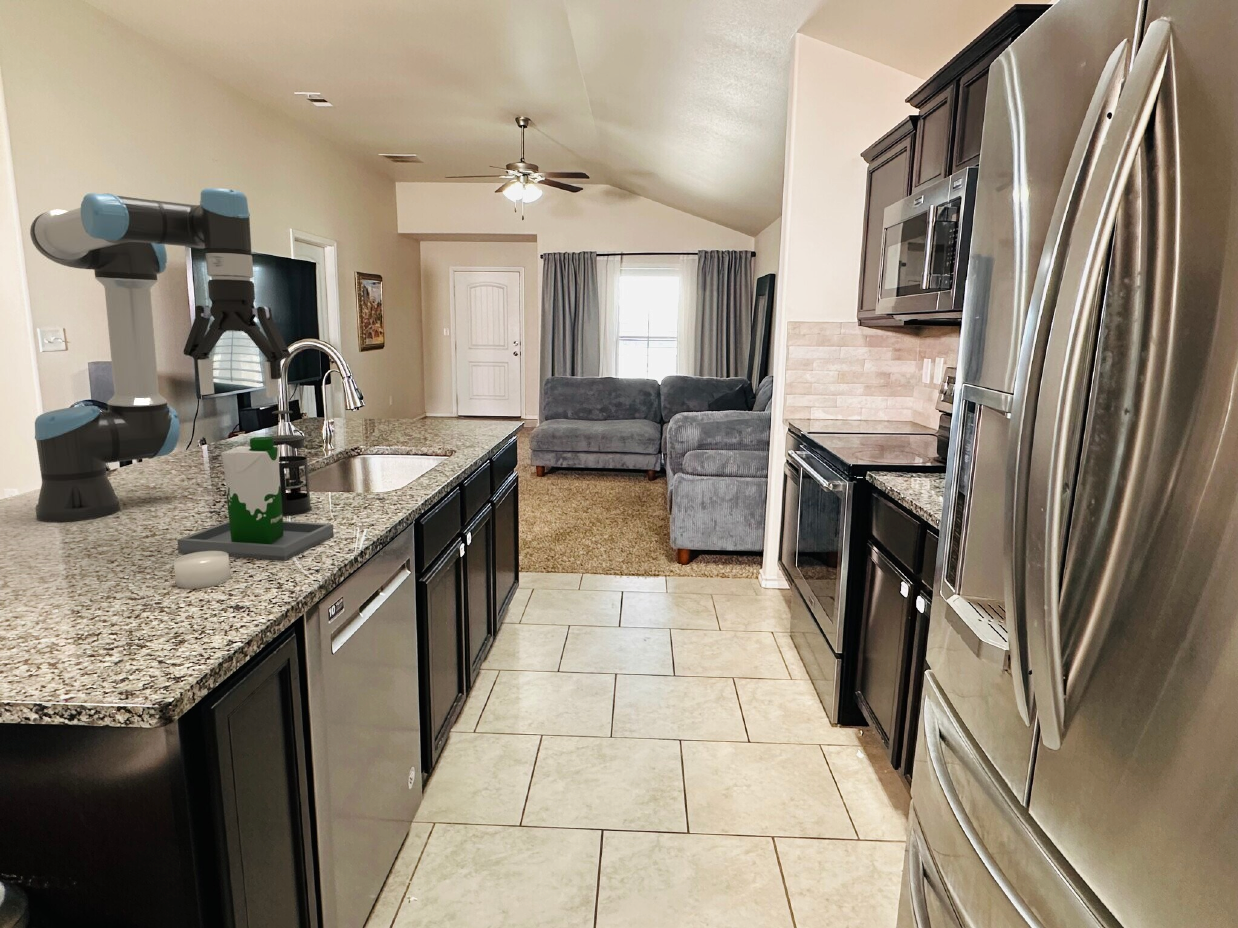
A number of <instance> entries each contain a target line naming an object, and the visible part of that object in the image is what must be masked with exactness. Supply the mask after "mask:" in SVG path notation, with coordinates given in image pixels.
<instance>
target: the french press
mask: <svg viewBox="0 0 1238 928" xmlns="http://www.w3.org/2000/svg"><path fill="white" fill-rule="evenodd" d="M271 414H274V415H279V417H280V420H281V421H282V434H280V435H279V434H278V435H272V436H270V437H272V438H273V443H274V446H283V447H284V449H283V450H284V455H282V456H281V455H279V474H280V487H281V501H282V515H283V517H286V516H287V517H288V516H295V515H302V514H306V513H308V512H310V511H312V509H313V507H312V505H311V493H310V480H309V479H310V478H309V477H310V476H309V465H308V464H309V463H308V457H307V456H304V455H303V456H302V455H287V446H289V447H290V448H292V449H294V450H295V449H297V450H298V449H302V448H305V440H306V439H307V436H305V435H299V434H298V435H297V434H286V431H285V428H286V427H285V420H286V414H287V415H288V414H293V411H292V410H275V411H272V412H271ZM302 467H304V476H305V480H304V479H301V473H300V472H301V471H300V468H302ZM304 487H305V488H306V489H305V491H306V492H304V491H303V492H302V488H304ZM287 490H289V491H290V492H287Z"/></svg>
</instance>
